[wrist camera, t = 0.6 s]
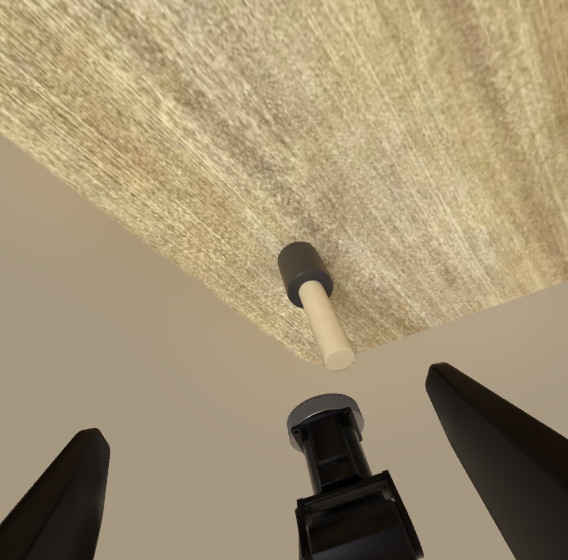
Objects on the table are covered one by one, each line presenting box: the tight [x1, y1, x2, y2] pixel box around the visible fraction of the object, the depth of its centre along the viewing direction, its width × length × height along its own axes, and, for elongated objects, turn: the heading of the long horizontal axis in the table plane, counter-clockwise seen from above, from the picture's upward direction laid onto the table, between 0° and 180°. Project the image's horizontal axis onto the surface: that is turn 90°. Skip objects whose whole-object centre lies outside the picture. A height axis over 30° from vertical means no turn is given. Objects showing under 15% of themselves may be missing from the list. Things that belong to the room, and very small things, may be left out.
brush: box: [278, 242, 356, 371], centre depth 20 cm, size 3×3×10 cm
